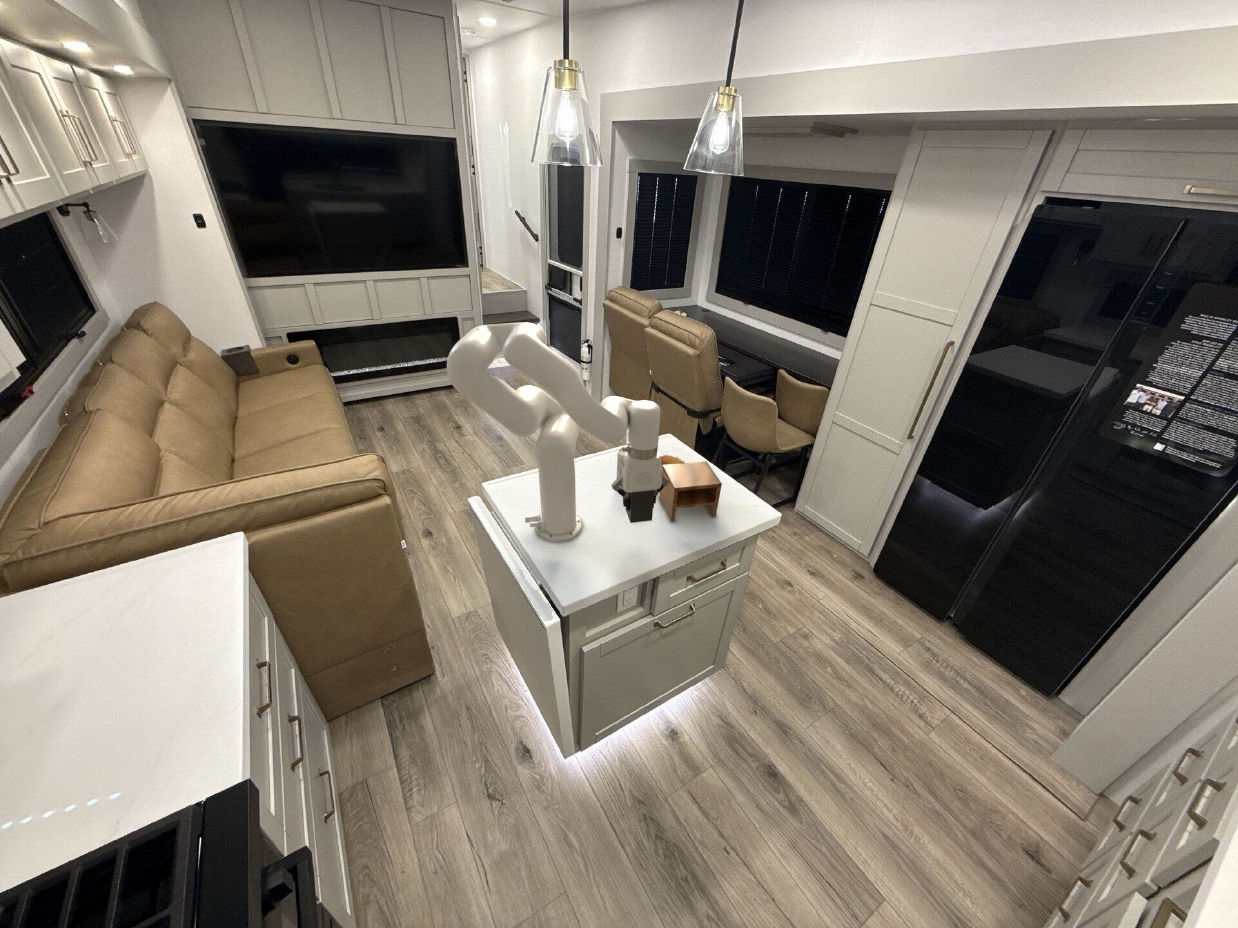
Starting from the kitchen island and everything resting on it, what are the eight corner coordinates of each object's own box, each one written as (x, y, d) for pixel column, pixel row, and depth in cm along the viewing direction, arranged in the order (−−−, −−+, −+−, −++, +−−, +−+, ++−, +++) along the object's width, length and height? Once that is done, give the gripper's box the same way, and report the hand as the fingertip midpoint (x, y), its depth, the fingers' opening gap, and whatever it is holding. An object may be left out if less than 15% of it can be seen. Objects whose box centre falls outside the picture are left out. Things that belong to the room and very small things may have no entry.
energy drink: (633, 488, 153) (635, 456, 147) (616, 488, 153) (617, 455, 147) (632, 479, 158) (634, 447, 151) (616, 478, 158) (617, 447, 151)
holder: (630, 523, 129) (632, 492, 123) (625, 509, 134) (626, 479, 128) (652, 520, 130) (654, 490, 125) (646, 507, 135) (648, 477, 129)
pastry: (653, 463, 166) (654, 454, 164) (667, 457, 170) (668, 448, 168) (673, 475, 160) (674, 465, 158) (687, 469, 164) (688, 459, 162)
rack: (670, 521, 140) (674, 488, 133) (659, 497, 150) (662, 464, 143) (715, 516, 143) (722, 483, 136) (701, 493, 152) (706, 461, 146)
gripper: (611, 460, 116) (610, 518, 126) (680, 454, 119) (673, 511, 129) (606, 444, 122) (605, 501, 132) (671, 439, 125) (665, 495, 135)
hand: (639, 506), depth 130 cm, fingers closed on holder, 6 cm apart
